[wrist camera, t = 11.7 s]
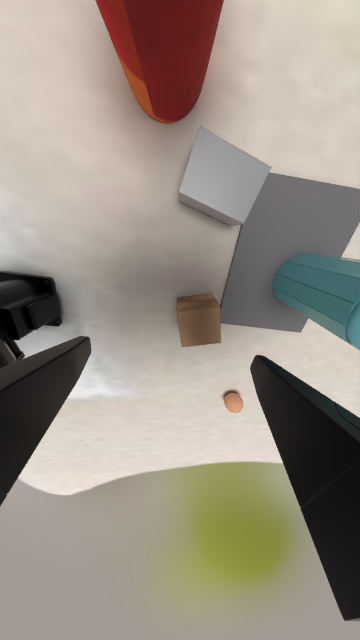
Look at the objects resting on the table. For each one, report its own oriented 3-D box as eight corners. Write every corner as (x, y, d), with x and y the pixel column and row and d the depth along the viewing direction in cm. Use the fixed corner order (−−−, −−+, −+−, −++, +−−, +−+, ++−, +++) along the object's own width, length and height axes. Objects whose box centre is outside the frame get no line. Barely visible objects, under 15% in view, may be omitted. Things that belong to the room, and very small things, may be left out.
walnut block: (181, 328, 23) (181, 347, 19) (177, 297, 21) (176, 312, 17) (213, 324, 23) (220, 342, 19) (212, 293, 21) (219, 306, 17)
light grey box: (178, 201, 17) (178, 191, 13) (194, 151, 15) (199, 125, 12) (230, 226, 18) (243, 223, 14) (250, 182, 16) (271, 166, 13)
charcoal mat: (216, 321, 23) (216, 322, 22) (255, 171, 16) (257, 170, 15) (298, 331, 24) (300, 332, 23) (371, 192, 17) (375, 192, 16)
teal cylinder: (279, 310, 22) (356, 366, 12) (266, 270, 19) (348, 302, 10) (327, 288, 20) (452, 332, 11) (319, 243, 18) (468, 250, 9)
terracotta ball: (220, 400, 30) (224, 416, 27) (225, 388, 29) (229, 403, 26) (236, 401, 30) (242, 417, 28) (241, 389, 29) (248, 405, 26)
